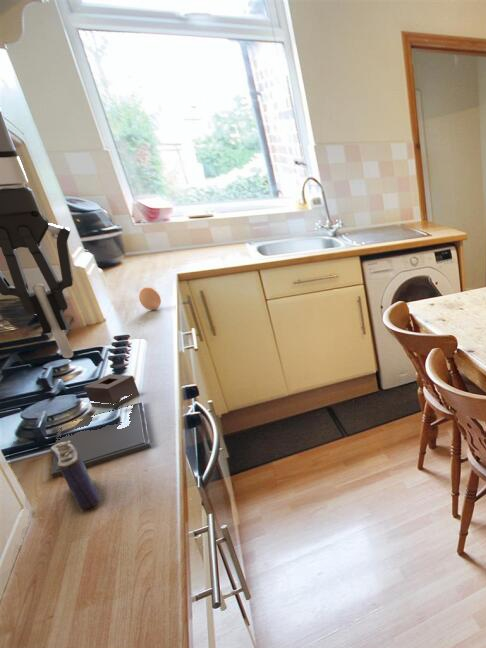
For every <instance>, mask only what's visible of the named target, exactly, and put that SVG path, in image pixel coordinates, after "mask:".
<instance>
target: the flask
mask: <svg viewBox="0 0 486 648" xmlns="http://www.w3.org/2000/svg"><path fill="white" fill-rule="evenodd" d="M70 443H71V441H69V440H68V442H60V443H58V444H56V443H55V444H53V445H52V446H51V447H50V453H51V454H52V456H53V458H55V460H56V461H57V463H58V467H59V469H60V471H61V472H62V474H63V475H62V477H63V478H64V480H65V482H66V484H67V486H68V489H69V490H70V492H71V495H72V496H73V498H74V500H75V502H76V504H77V506H78V508H79V510H80V512H89V511H92V510H94V509H96V508H98V506H99V505H100V503H101V496H100V493H99V492H98V490H97V488H96V486H95V485H94V483H93V480H92V478H91V476H90V473H89V471H88V470H87V468H86V467H85V465H84V463H83V461H82V459H81V457H80V454H79V452H78V450H77V449H76V448H75V447H74V446H73V445H72V444H70Z"/></svg>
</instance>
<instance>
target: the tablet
mask: <svg viewBox="0 0 486 648" xmlns="http://www.w3.org/2000/svg"><path fill="white" fill-rule="evenodd" d="M133 404H134V405H133ZM133 404H130V405H131V406H132V405H133V408H132V409H131V410H132V411H131V412H132V413H130V414H129V415H130V416H129V417H130V419H129V421H131V422H130V424H129V426H127V427H125V428H122V429H117V427H118V426H119V425H121V424H120V423H122V422H118V424H114V425H107V426H105V427H103V428H101V429H97V430H91V431H90V430H86V431H85V430H84V431H80V432H77V433H75V434H74V435H72V434H71V436H70V435H69V434H68V436H67V435H66V436H65V437H62V438H57V437H59V436H60V437H61V435H60V434H61V431H62V427H61V428H59V429H60V430H61V431H60V430H59V429H58V428H57V430H56V431H57V432H58V433H56V437H55V444H58V443H60V442H68V440H69V441H71V443H70V444H72V445H73V446H74V447H75V448H76V449H77V450H78V452H79V454H80V457H81V459H82V461H83V463H84V465H85V467H86V469H87V468H90V467H94V466H98V465H100V464H103V463H106V462H109V461H110V462H111V461H112V460H113V461H114V460H116V459H119V458H122V457H126V456H128V455H131V454H135V453H138V452H141V451H144V450H147V449H150V448H151V447H152V446H151V440H150V433H149V427H148V422H147V416H146V411H145V410H146V409H145V405H144V402H143V401H140V402H137V403H133ZM126 406H127V407H128V406H129V405H126ZM118 408H119V409H120V408H121V407H118ZM111 410H112V411H114V409H111ZM111 410H108V411H109V412H110V411H111ZM104 412H105V411H104ZM104 412H100V413H96V414H93V415H94V416H95V415H97V414H101V413H104ZM91 416H92V415H89V417H88V416H85V417H86V418H85V417H81V418H82V419H83V418H84V419H83V420H82V421H80V422H79V423H78V424H77V425H76V426H75V427H74V428H75V429H77V428H79V427H80V428H81V427H84V426H88V425H89V424H90V422H91V421H92V418H93V417H91ZM74 420H75V421H77V419H74ZM71 421H72V422H73V420H71ZM58 430H59V431H58ZM57 435H59V436H57ZM56 439H57V440H56ZM58 439H60V440H58ZM50 474H51V477H52V478H53V479H56V478H59V477H63V474H62V472H61V471H60V469H59V467H58V463H57V461H56V460H55V458H54V457H53V458H52V466H51V472H50Z"/></svg>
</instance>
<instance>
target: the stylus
mask: <svg viewBox="0 0 486 648" xmlns="http://www.w3.org/2000/svg"><path fill="white" fill-rule="evenodd" d="M32 291H33V293H35V295H36V297H37V299H38V301H39V304H40V306H41V308H42V311H43V313H44V315H45V317H46V320H47V322H48V324H49V326H50V329H51V334H52V336H53V338H54V341H55V343H56V345H57V347H58V349H59V352H60V354H61V356H62V358H64V359H71V358H72V357H73V356H74V351H73V348H72V346H71V344H70V342H69V340H68V337H67V335H66V333H65V330H62V331H61V329H60V326H59V324H58V322H57V319H56V317H55V315H54V312H53V310H52V307H51V305H50V303H49V300H48V298H47V295H46V294H47V291H48V290H47V288H46V286H45V285H44V284H42V283H35V284H33V285H32Z"/></svg>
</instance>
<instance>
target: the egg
mask: <svg viewBox="0 0 486 648" xmlns="http://www.w3.org/2000/svg"><path fill="white" fill-rule="evenodd" d="M138 297H139V298H138V299H139V302H140V304H141V306H142V307H143V308H144V309H146V310H148V311H156V310H158V309H159V307H160V306H161V303H162V300H161V296H160V294H159V293H158V291H157V290H155V289H154V288H152V287H150V286H145V287H143V288H142V289H141V290H140V291H139V294H138Z"/></svg>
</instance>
